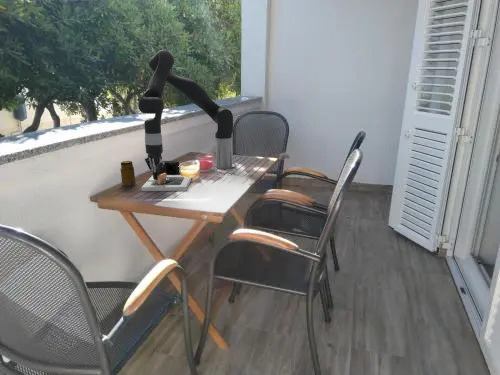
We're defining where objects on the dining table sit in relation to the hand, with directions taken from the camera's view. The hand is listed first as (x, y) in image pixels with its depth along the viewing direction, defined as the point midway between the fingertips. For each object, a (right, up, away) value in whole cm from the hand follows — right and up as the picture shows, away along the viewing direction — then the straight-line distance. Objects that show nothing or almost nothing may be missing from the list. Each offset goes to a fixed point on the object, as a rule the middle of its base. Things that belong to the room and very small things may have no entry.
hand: (156, 179), depth 165 cm
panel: (+5, -3, +5) cm, 7 cm away
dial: (+5, -2, +4) cm, 7 cm away
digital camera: (0, +3, +24) cm, 25 cm away
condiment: (-13, -3, +4) cm, 14 cm away
